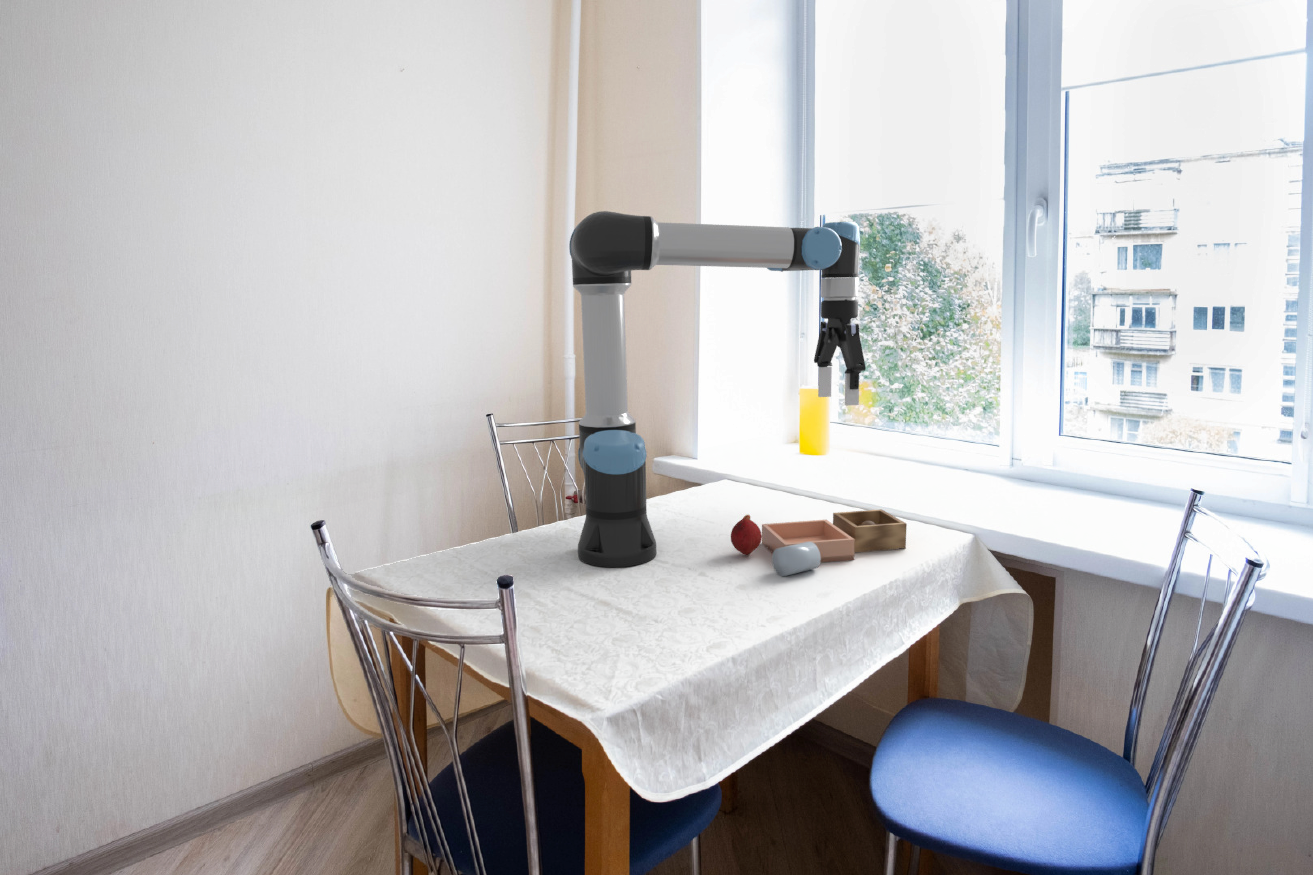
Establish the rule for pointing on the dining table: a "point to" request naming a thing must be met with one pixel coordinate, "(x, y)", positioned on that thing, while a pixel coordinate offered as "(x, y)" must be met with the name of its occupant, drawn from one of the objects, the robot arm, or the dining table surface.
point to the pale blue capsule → (796, 558)
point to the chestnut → (867, 523)
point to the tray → (810, 538)
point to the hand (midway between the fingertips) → (837, 400)
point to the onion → (746, 536)
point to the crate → (872, 530)
